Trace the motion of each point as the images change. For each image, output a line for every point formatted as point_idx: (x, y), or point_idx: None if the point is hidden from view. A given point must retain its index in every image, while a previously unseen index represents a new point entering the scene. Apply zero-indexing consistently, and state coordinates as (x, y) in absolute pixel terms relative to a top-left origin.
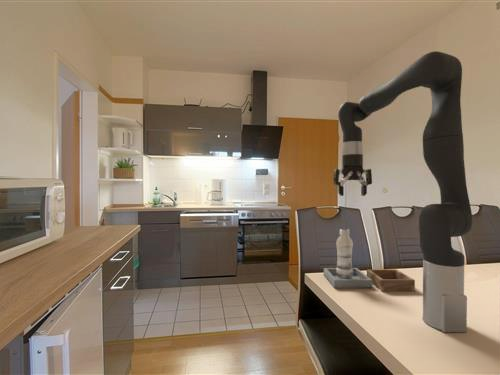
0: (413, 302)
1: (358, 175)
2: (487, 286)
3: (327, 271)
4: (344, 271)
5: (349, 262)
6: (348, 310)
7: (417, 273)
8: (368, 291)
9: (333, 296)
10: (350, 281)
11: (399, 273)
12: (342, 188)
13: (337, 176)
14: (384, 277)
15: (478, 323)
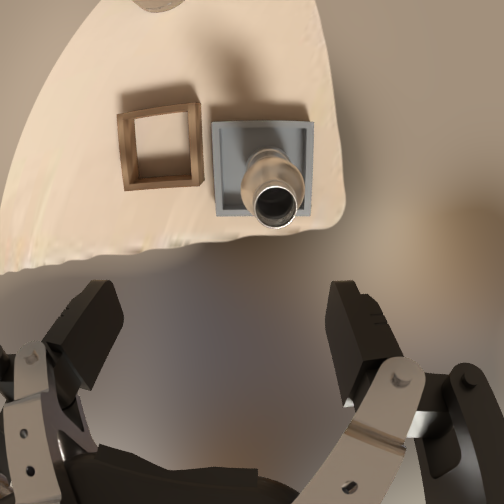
0: (161, 56)
1: (54, 500)
2: (17, 165)
3: (309, 189)
4: (277, 150)
5: (261, 156)
6: (315, 21)
7: (83, 224)
8: (232, 102)
9: (326, 79)
10: (270, 120)
11: (127, 164)
12: (369, 334)
13: (499, 463)
14: (161, 177)
15: (110, 7)
